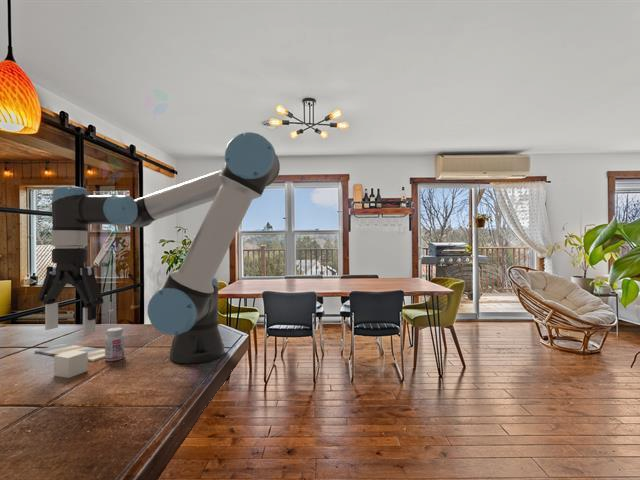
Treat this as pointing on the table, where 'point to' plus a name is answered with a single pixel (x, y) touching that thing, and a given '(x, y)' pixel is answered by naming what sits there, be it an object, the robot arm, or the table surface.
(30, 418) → the table surface
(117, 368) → the table surface
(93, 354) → the track
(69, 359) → the blank white cube
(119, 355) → the pill bottle
